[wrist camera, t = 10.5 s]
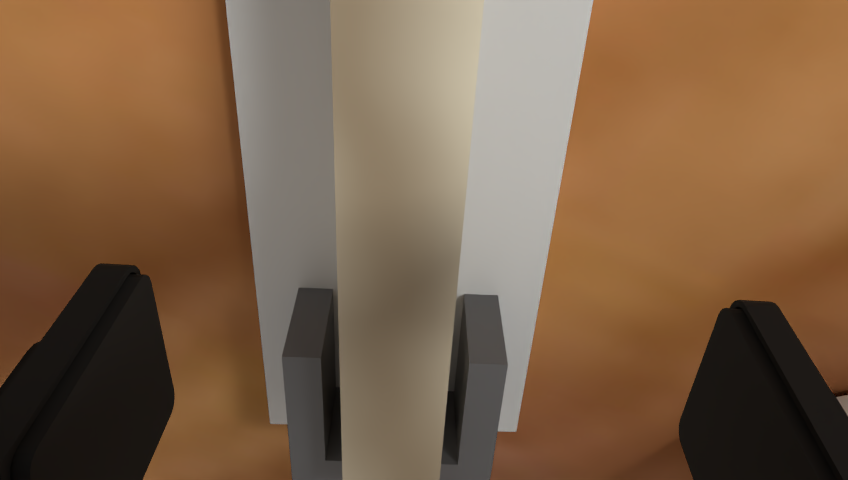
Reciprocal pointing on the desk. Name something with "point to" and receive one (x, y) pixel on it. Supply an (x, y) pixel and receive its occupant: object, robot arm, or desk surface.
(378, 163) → the slat
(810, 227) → the desk surface
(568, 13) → the end cap board
